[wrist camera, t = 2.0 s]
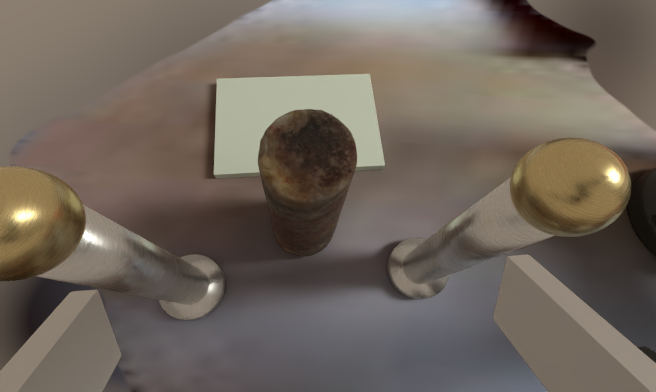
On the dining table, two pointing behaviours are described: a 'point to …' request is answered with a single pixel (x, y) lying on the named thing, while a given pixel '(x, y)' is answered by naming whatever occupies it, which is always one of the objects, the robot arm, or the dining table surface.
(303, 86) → the sage board
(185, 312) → the stanchion posts
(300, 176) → the rusty metal cylinder
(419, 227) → the dining table surface
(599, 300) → the dining table surface
